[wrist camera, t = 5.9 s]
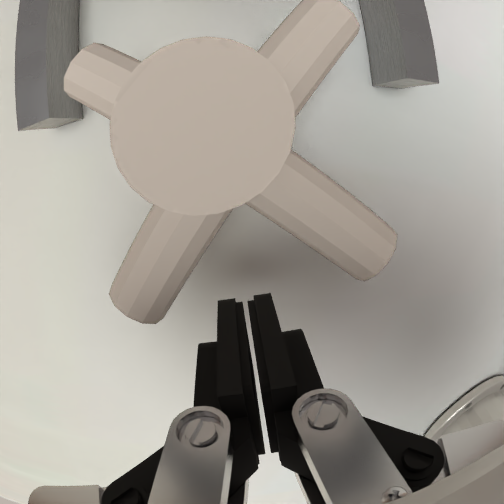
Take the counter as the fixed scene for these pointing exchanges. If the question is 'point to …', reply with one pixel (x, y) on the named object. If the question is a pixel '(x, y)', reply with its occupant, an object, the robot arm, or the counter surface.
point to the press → (66, 48)
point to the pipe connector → (224, 149)
